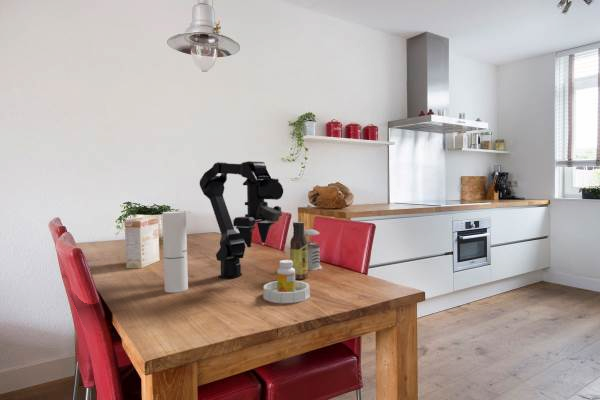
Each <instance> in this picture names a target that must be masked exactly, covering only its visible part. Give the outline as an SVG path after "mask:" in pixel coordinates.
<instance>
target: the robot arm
mask: <svg viewBox="0 0 600 400" xmlns="http://www.w3.org/2000/svg"><path fill="white" fill-rule="evenodd" d="M219 174H220V175H219ZM230 174H231V175H239V176H241V177H243V178H245V181H243V183H242V186H246V191H247V192H246V194H247V195H246V196H247V197H246V202H244V206H246V207H247V214H244V216H238V217H235V218H233V221H232V219H231V216H230V213H229V210H228V207H227V204H226V201H225V198H224V192H225V183H226V181H227V180H228V176H227V175H230ZM199 187H200V189H201V191H202V194H203V195H204V196H205V197H206V198H207V199H209V201H210V204H211V207H212V210H213V213H214V216H215V219H216V223H217V225H218V228H219V231H220V235H221V236H220V240H219V247H220V248H219V249H218V251H217V252H216V254H215V257H216V261H218V262H220V274H219V275H218V278H225V279H235V278H238V277H240V276H242V275H243V273H242V271H241V270H242V266H241V263H240V260H241V259H244V254H245V251H246V247H247V248H251V246H252V239H253V231H254V230H255V229H256V226H255V224H257V229H258V234H259V236H260V241H261V243H262V244H265V243H266V242H267V238H268V234H269V231H270V228H271V227H272V226H273V225H275V223H276V222H279V219H280V217H281V216H282V215H283V213H282V207H281V206H278V205H275V206H274V207H270V206H268V202H267V201H265V200H276V201H277V200H280V199H282V197H283V194H284V188H283V185H282V184H281V182H280V180H279V178H273V177H272V174H271V172H270V170H269V169H268V167H267V164H266V163H265V162H264V161H251V160H249V161H243V162H241V163H227V162H221V161H220V162H219V161H218V162H214V164H213V165H212V167H211V168H209V169H208V170H207V171H205V172H204V173H203V175H202V176H201V178H200V180H199ZM234 227H235V228H234ZM235 229H237V230H238V232H237V231H236V230H235Z"/></svg>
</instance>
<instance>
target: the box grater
mask: <svg viewBox="0 0 600 400" xmlns="http://www.w3.org/2000/svg"><path fill="white" fill-rule="evenodd" d="M306 207H307V209H308V212H309V213H308V215H309V218H308V221H309V222H308V223H309V227H308V229H304V236H305V239H306V241H307V240H308V239H307V237H309V241H307V244H308V271H318V269H319V270H322V269H323V266H322V265H321V263H320V262H321V261H320V258H321V257H320V255H321V254H320V246H318V245H319V244H320V243H319V242H317V241H311V236H319V235H320V234H321V233H320V232H319V231H318V230H315V229H312V228H311V216H310V215H311V212H310V211H311V209H312V205H311V204H308V205H307V206H306Z"/></svg>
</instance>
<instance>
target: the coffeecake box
mask: <svg viewBox="0 0 600 400" xmlns="http://www.w3.org/2000/svg"><path fill="white" fill-rule="evenodd" d="M159 234H160V233H159V217H158V216H142V217H135V218H132V219H131V218H130V219H127V220H124V235H125V236H124V239H125V258H126V259H125V261H126V265H125V266H126V269H143V268H146V267H148V266H150V265H152V264H154V263H157V262H160V241H159V240H160V237H159Z"/></svg>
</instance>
